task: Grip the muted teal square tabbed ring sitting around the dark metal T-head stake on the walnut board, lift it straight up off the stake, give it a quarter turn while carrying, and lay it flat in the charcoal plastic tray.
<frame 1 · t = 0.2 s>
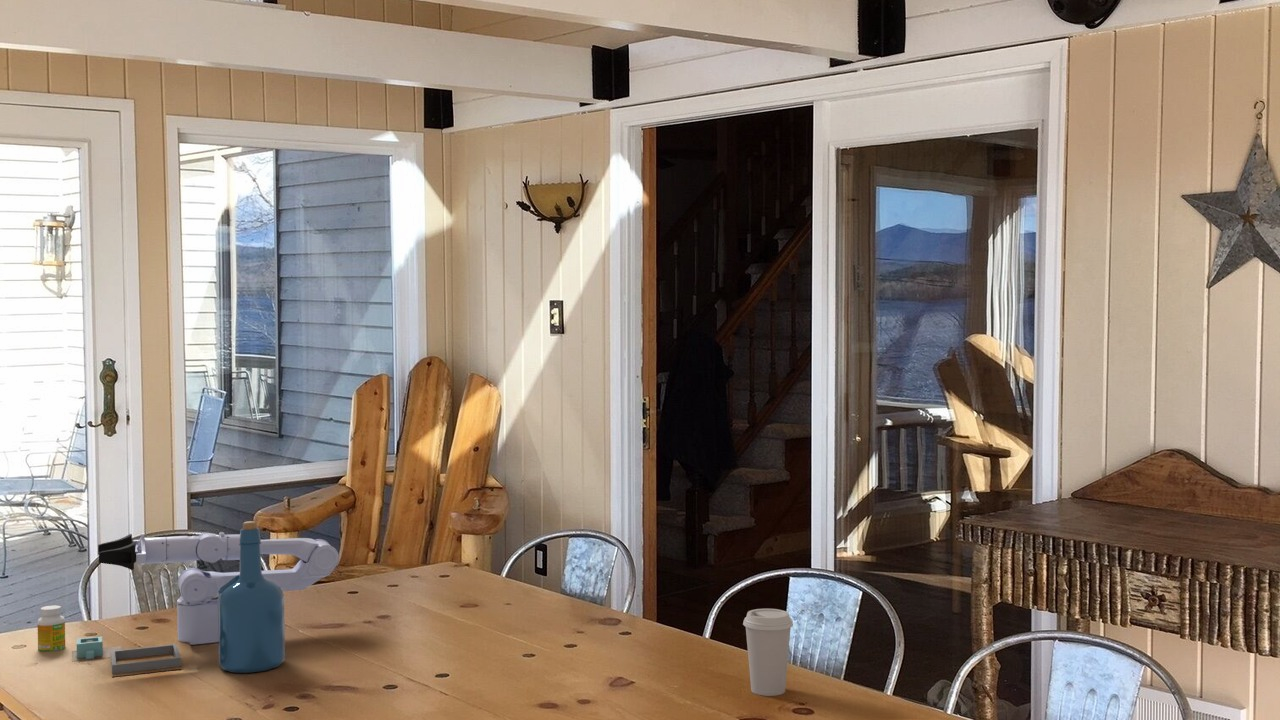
hand: (98, 553, 269), 21 cm above the table, tool horizontal, fingers open, 7 cm apart
supplement bottle: (51, 652, 269), on the table
teal ring: (89, 654, 264), point 1 cm above the table, touching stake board
wine bottle: (251, 666, 258), on the table
coffee cup: (768, 691, 238), on the table
tray: (145, 666, 258), on the table
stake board: (97, 657, 265), on the table
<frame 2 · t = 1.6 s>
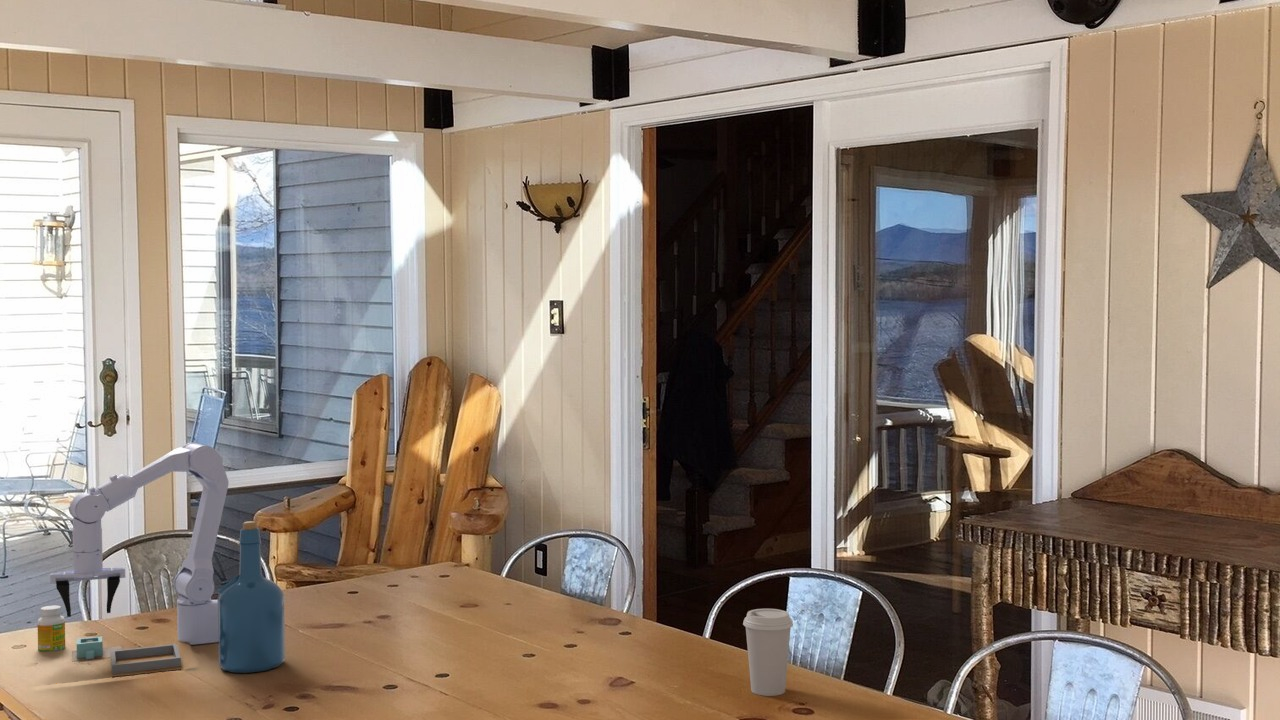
hand: (88, 614, 264), 9 cm above the table, tool pointing down, fingers open, 7 cm apart
nothing on the table moved.
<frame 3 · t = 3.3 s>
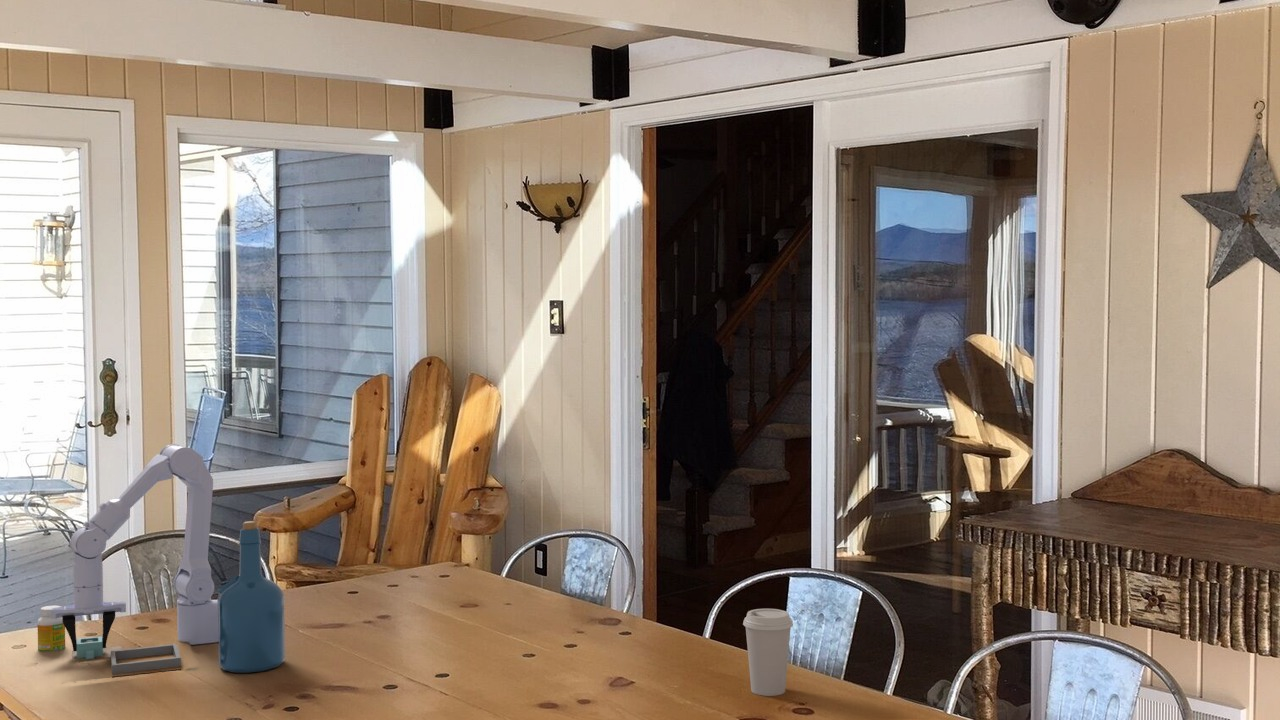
hand: (89, 648, 264), 2 cm above the table, tool pointing down, fingers closed on teal ring, 5 cm apart
teal ring: (89, 654, 264), point 1 cm above the table, touching gripper, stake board
everything else where it was.
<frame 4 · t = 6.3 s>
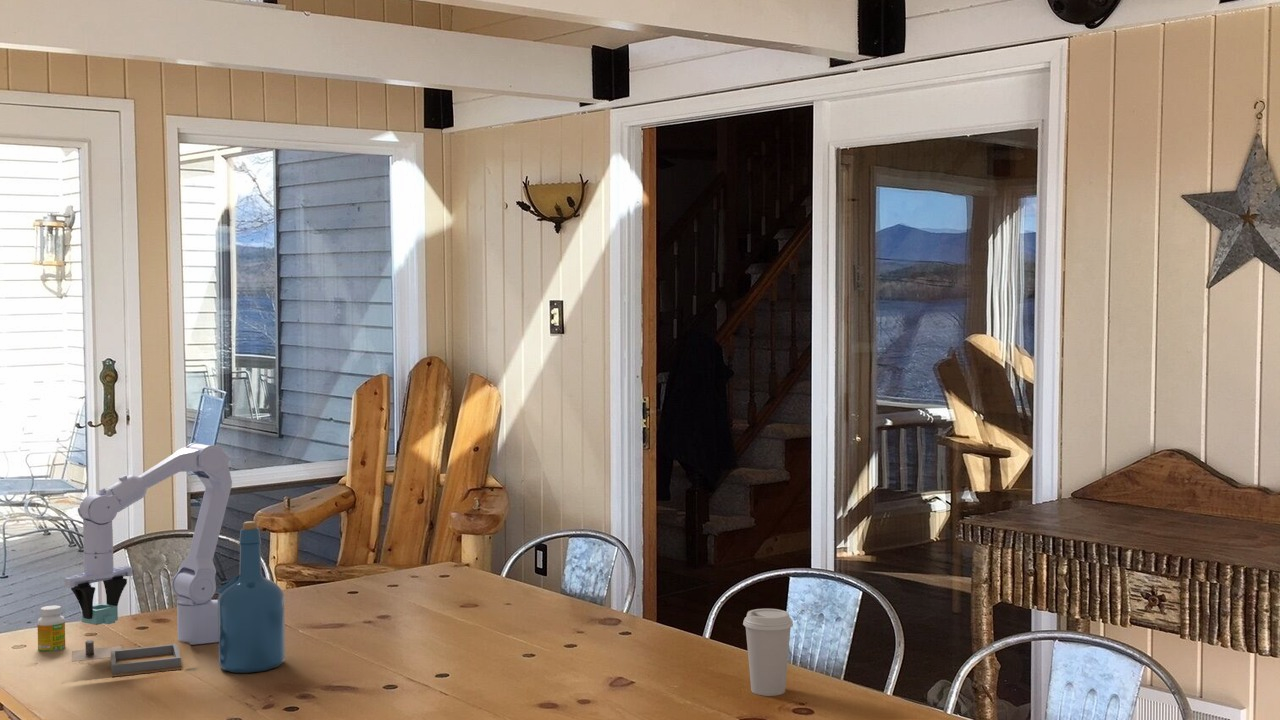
hand: (99, 615, 263), 9 cm above the table, tool pointing down, fingers closed on teal ring, 5 cm apart
teal ring: (100, 621, 263), point 8 cm above the table, touching gripper
everything else where it was.
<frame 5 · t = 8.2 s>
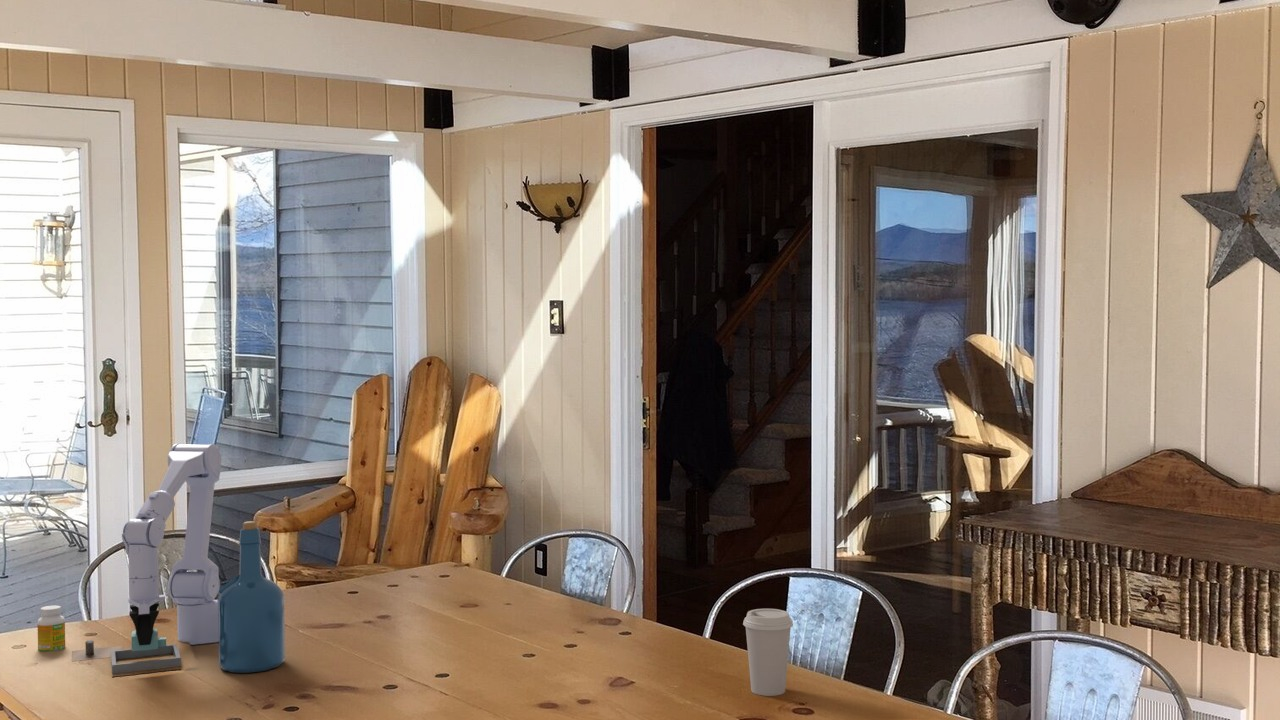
hand: (145, 641, 257), 5 cm above the table, tool pointing down, fingers closed on teal ring, 5 cm apart
teal ring: (145, 647, 257), point 4 cm above the table, touching gripper
everything else where it was.
when the fingers open (3 cm above the table, at t = 9.5 s): teal ring drops 2 cm, resting on tray.
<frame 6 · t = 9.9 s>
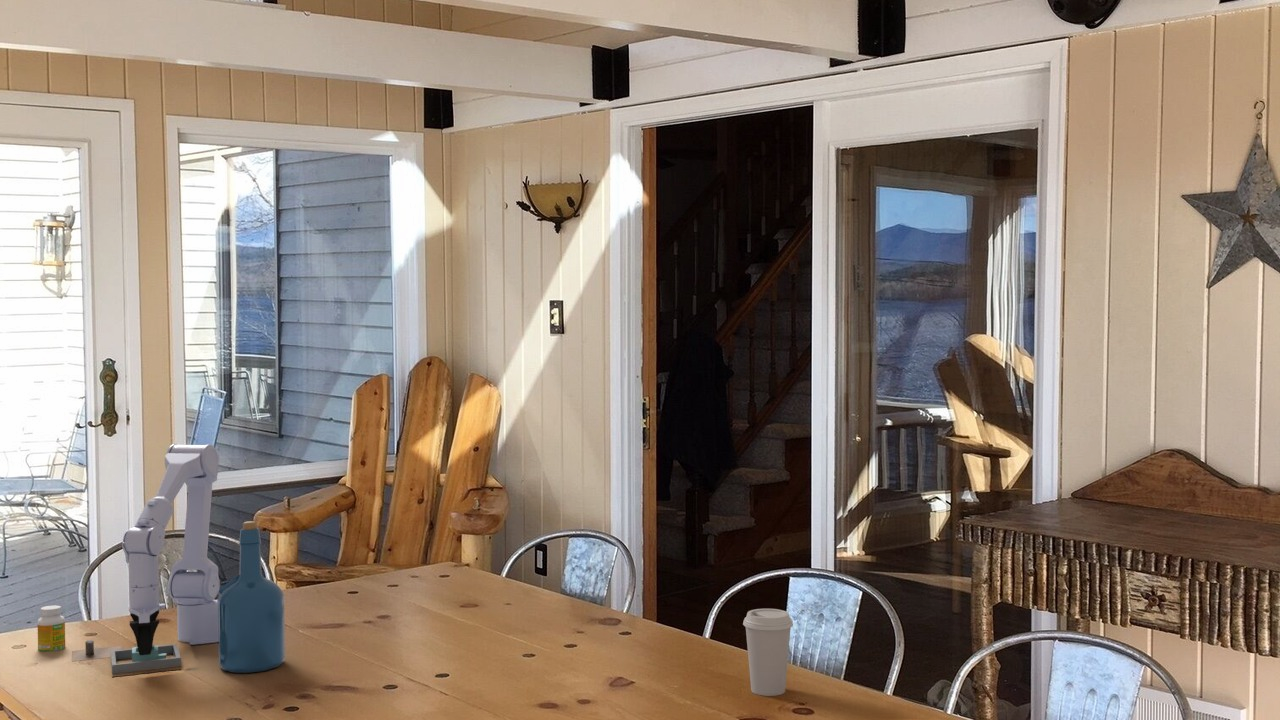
hand: (145, 649, 257), 3 cm above the table, tool pointing down, fingers open, 7 cm apart
teal ring: (145, 663, 257), point 1 cm above the table, touching tray
everything else where it was.
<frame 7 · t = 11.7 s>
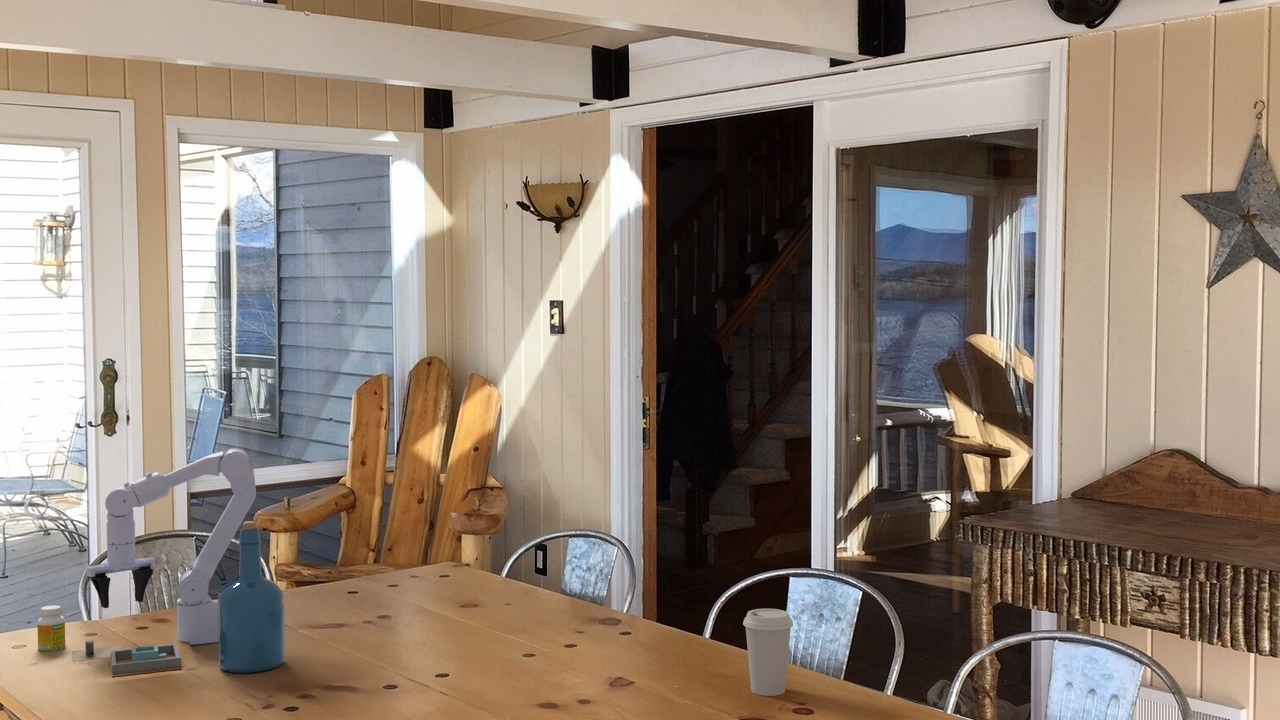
hand: (122, 604, 273), 9 cm above the table, tool pointing down, fingers open, 7 cm apart
nothing on the table moved.
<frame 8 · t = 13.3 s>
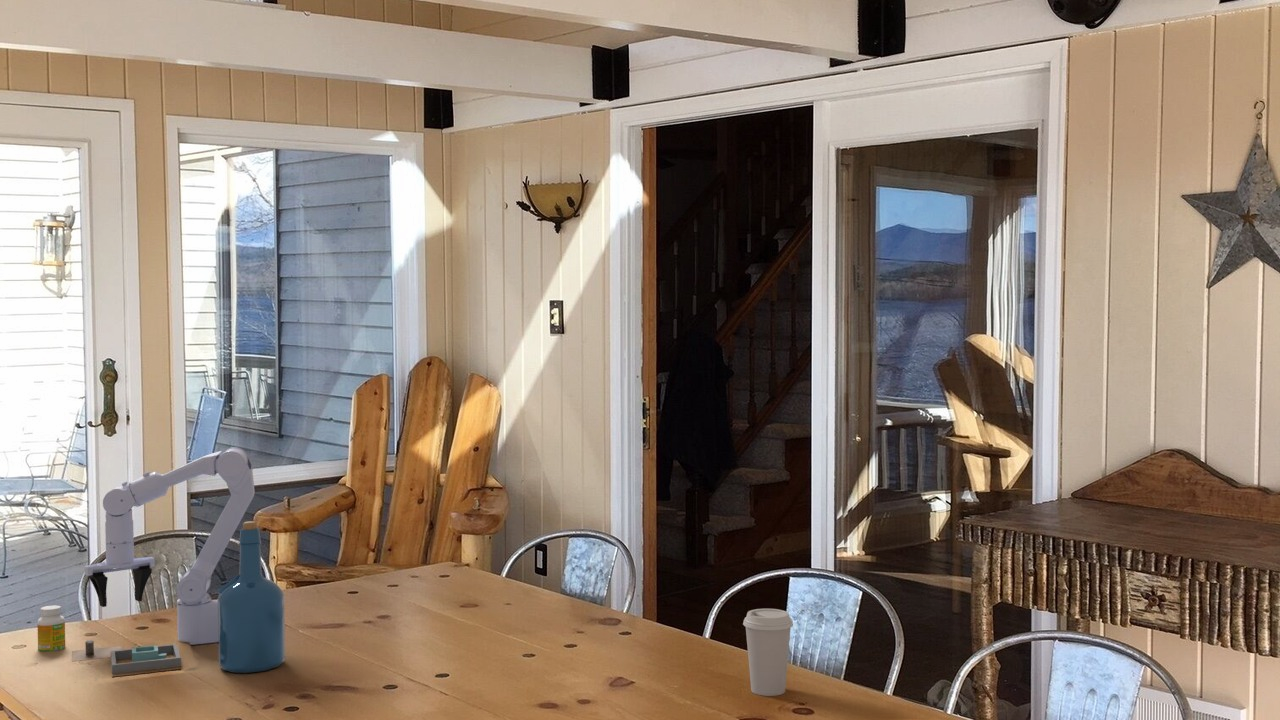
hand: (120, 603, 274), 9 cm above the table, tool pointing down, fingers open, 7 cm apart
nothing on the table moved.
at the end: teal ring inside the target area on the tray (0.0 cm from its centre), point 0.6 cm above the tray's base; teal ring tilted 0°; the gripper is holding nothing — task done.
